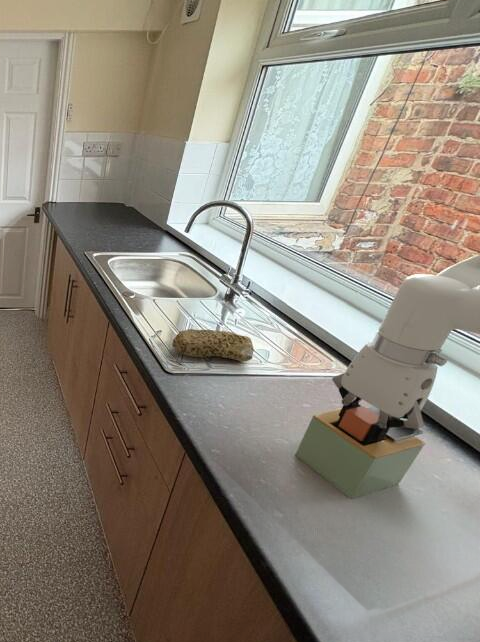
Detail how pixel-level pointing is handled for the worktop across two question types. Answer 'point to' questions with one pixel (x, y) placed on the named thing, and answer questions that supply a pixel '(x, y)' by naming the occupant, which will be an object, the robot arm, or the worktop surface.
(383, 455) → the green open box
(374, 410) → the slider
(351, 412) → the block
